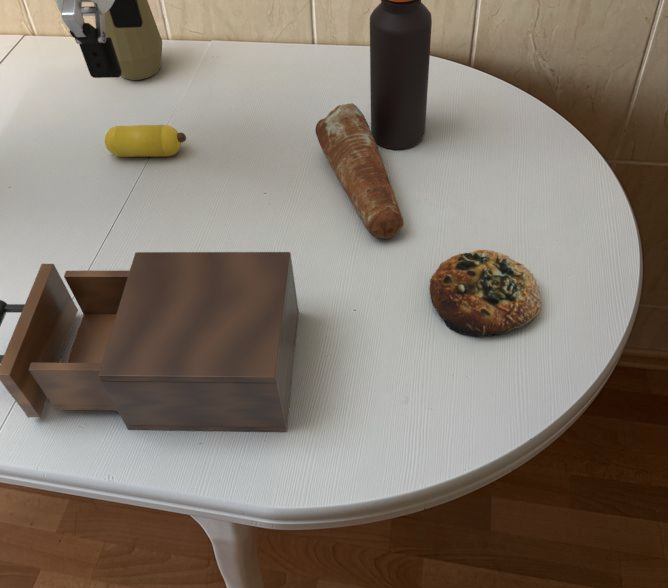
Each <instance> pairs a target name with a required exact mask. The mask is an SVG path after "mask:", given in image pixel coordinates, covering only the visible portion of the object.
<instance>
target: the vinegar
mask: <svg viewBox="0 0 668 588" xmlns="http://www.w3.org/2000/svg"><path fill="white" fill-rule="evenodd" d="M432 19H433V18H432V13H431V12H430V10H429V9H428V7H427V6H426V5H425V4H424V3H423V2H422V0H380V3H379V4H378V5H377V6H376V7H375V8H373V11H372V12H371V14H370V16H369V74H370V75H369V77H370V79H369V80H370V81H369V83H370V85H369V88H370V91H369V92H370V131H371V133H372V136H373V138H374V140H375V142H376V144H377V145H379V146H381V147H384V148H386V149H391V150H392V149H393V150H404V149H408V148H409V149H410V148H411V147H413V146H415V145H417V144H419V143H420V142H421V141H422V140H423V138H424V136H425V135H426V123H427V106H428V89H429V74H430V58H431V54H430V53H431V41H432V26H433V25H432V24H433V20H432Z"/></svg>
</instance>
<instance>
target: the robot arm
mask: <svg viewBox="0 0 668 588" xmlns="http://www.w3.org/2000/svg"><path fill="white" fill-rule="evenodd" d="M54 1H55V4H56V6H57V9H58V11H59V12H60V13H61V19H62V21H63V23H64V24H65V25H66V27H67V28H68V30H69V33H70V35H71V37H72V38H73V39H74V42H75V43H76V44H77V45H79V48H80V50H81V54H82V57H83V59H84V62H85V65H86V67H87V69H88V73H89V75H90V77H92V79H93V78H94V79H105V78H106V79H107V78H120V77H122V76H121V73H122V71H121V68H120V64H119V61H118V58H117V55H116V52H115V49H114V46H113V43H112V40H111V38H106V25H105V13H106V12H107V11H108V10H109V11H110V14H111V18H112V21H113V24H114V26H115V27H117V28H133V27H141V26H142V24H143V20H142V17H141V13H140V10H139V6H138V2H137V0H54ZM83 3H93V4H94V3H96V6H94V5H93V6H82V4H83ZM84 17H94V20H95V26H94V25H92V24H90V22H86V21H85V18H84Z"/></svg>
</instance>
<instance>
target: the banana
mask: <svg viewBox="0 0 668 588" xmlns="http://www.w3.org/2000/svg"><path fill="white" fill-rule="evenodd" d="M186 141H187V135H186V134H185V133H184V132H181V131H180V132H179V131H178V129H176V128H175V127H174V126H171V125H168V124H140V125H114V126H112V127H110V128H109V129H108V130H107V131H106V133H105V135H104V146H105V147H106V149H107V151H108V152H109V153H110V154H111V155H113V156H115V157H120V158H133V157H134V158H135V157H136V158H138V157H141V158H143V157H171V156H174V155H176V154H177V153H178V152H179V150H180V149H181V147H182V143H185V142H186Z"/></svg>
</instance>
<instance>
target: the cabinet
mask: <svg viewBox="0 0 668 588" xmlns="http://www.w3.org/2000/svg"><path fill="white" fill-rule="evenodd" d="M129 271H130V272H129V275H128V278H127V282H126V285H125V288H124V291H123V295H122V298H121V301H120V305H119V308H118V311H117V314H116V318H115V321H114V324H113V328H112V331H111V334H110V337H109V341H108V344H107V347H106V351H105V354H104V357H103V360H102V364H101V367H100V370H99V373H98V377H99V379H100V380H101V383H102V384H103V386H104V388H105V390H106V392H107V393H108V395H109V397H110V399H111V400H112V402H113V404H114V406H115V408H116V409H117V410H116V411H117V414H118V415H119V417H120V418H121V420H122V422H123V424H124V426H125V427H126V429H127V430H132V431H133V430H136V431H139V430H140V431H141V430H142V431H192V432H193V431H197V432H198V431H201V432H205V431H206V432H253V433H254V432H257V433H259V432H261V433H262V432H264V433H276V432H277V433H287V431H288V421H289V413H290V402H291V393H292V392H291V391H292V383H293V373H294V362H295V352H296V346H297V345H296V344H297V333H298V325H299V313H300V311H299V303H298V302H299V301H298V296H297V289H296V282H295V275H294V274H295V273H294V267H293V261H292V254H291V251H195V252H194V251H137V252H134V257H133V258H132V263H131V265H130V268H129Z"/></svg>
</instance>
